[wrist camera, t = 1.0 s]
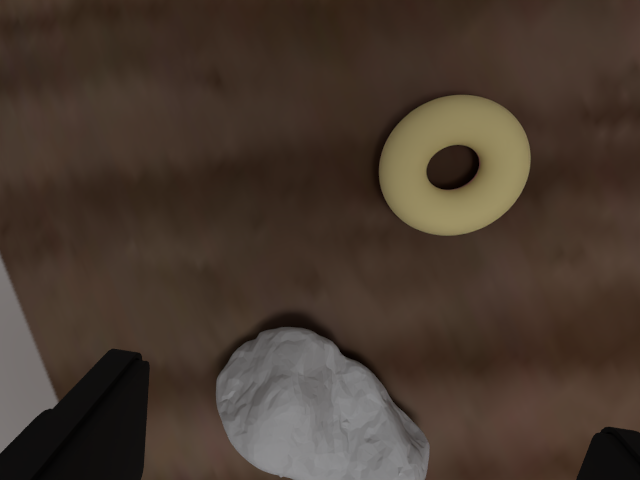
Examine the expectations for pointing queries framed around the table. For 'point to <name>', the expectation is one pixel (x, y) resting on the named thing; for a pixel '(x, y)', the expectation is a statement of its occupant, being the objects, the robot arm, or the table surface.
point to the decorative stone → (315, 412)
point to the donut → (442, 131)
